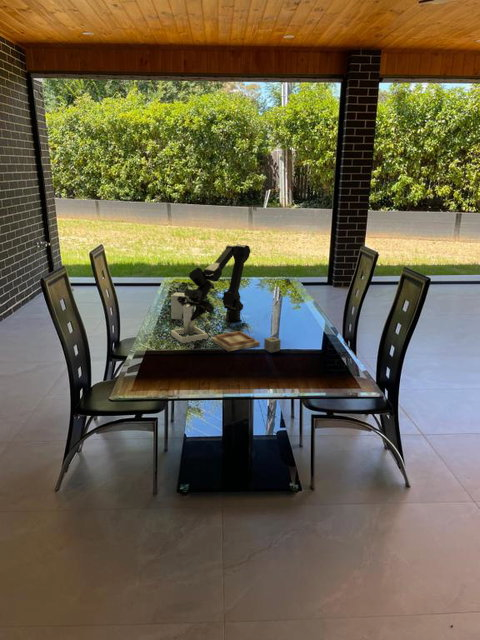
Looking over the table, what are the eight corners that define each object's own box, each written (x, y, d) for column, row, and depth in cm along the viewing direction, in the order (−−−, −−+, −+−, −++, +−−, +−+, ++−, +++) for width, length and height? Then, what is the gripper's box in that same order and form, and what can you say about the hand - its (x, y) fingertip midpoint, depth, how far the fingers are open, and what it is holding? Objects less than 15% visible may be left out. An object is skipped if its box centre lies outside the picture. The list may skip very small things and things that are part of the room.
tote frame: (195, 331, 245) (195, 326, 244) (207, 339, 235) (207, 333, 234) (171, 335, 239) (171, 330, 238) (182, 343, 229) (182, 338, 228)
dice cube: (280, 350, 221) (280, 339, 220) (270, 352, 219) (271, 341, 217) (273, 347, 225) (273, 336, 224) (264, 349, 223) (264, 338, 221)
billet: (191, 330, 239) (191, 303, 236) (196, 333, 235) (195, 306, 231) (182, 331, 237) (181, 304, 233) (186, 334, 233) (185, 307, 229)
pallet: (241, 335, 240) (241, 329, 240) (259, 345, 227) (259, 339, 226) (211, 340, 233) (211, 334, 232) (228, 351, 220) (228, 345, 219)
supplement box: (184, 320, 263) (184, 296, 259) (171, 318, 264) (170, 295, 260) (189, 315, 270) (188, 292, 266) (175, 315, 271) (175, 292, 267)
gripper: (178, 278, 237) (162, 306, 232) (209, 284, 227) (193, 314, 222) (190, 292, 246) (175, 319, 241) (220, 298, 235) (205, 326, 230)
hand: (186, 319), depth 233 cm, fingers closed on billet, 5 cm apart
